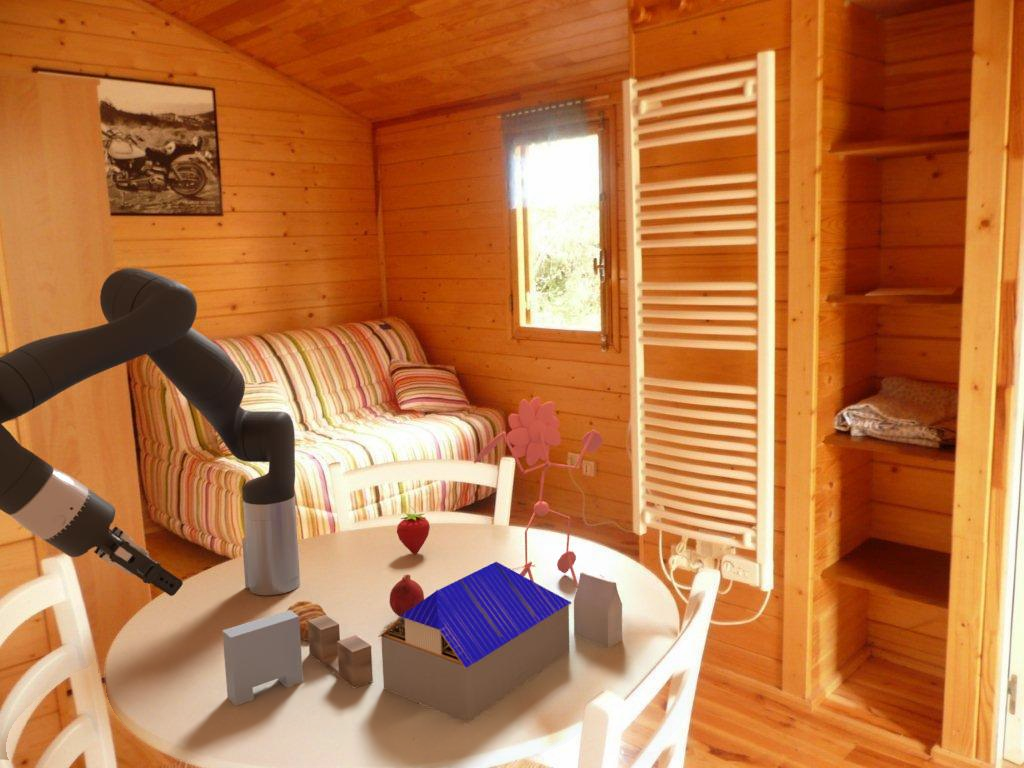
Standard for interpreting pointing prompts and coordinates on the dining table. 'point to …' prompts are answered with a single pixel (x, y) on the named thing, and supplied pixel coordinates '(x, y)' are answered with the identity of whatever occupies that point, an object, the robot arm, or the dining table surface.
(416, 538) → the strawberry
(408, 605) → the onion
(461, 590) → the house
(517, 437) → the figurine
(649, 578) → the dining table surface
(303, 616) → the pastry
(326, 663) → the walnut blocks
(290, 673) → the grey notched square slab
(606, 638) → the grey house-shaped block
